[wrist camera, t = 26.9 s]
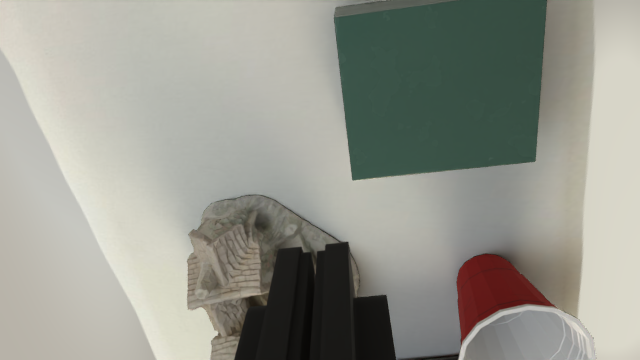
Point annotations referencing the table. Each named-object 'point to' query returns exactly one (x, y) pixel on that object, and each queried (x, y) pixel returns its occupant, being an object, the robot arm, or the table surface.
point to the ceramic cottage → (243, 261)
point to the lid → (441, 85)
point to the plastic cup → (513, 317)
